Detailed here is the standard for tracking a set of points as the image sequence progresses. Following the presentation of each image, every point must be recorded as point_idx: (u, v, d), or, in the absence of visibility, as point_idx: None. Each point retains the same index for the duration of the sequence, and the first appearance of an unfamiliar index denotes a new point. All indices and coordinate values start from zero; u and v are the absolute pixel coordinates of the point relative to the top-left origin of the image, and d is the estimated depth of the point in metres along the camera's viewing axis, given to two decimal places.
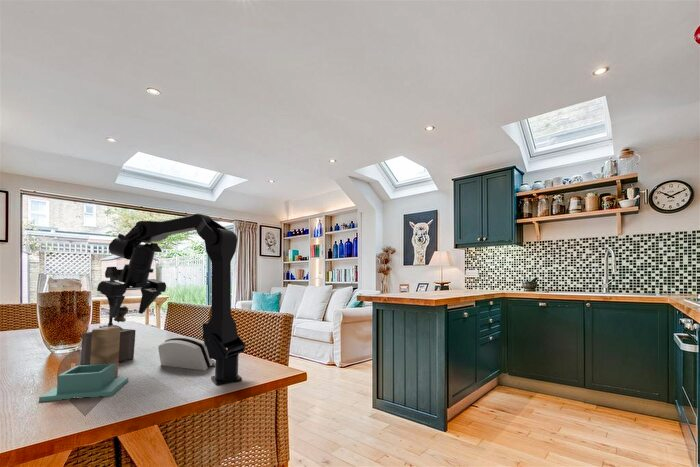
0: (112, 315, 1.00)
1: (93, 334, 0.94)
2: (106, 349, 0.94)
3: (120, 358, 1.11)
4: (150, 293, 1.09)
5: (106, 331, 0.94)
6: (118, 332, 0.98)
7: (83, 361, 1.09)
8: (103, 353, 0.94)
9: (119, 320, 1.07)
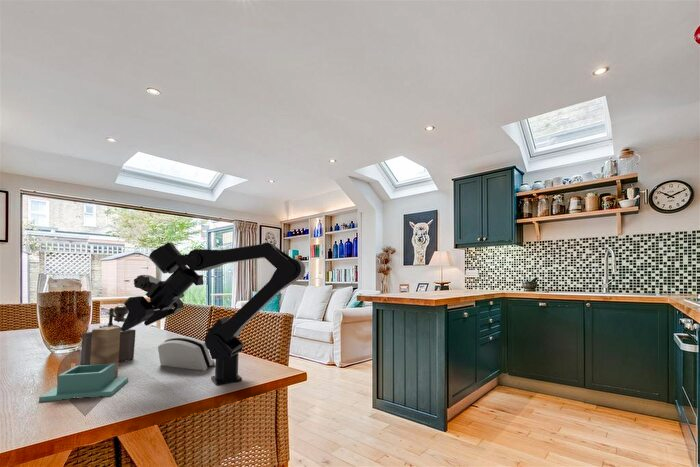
0: (123, 328, 0.91)
1: (93, 334, 0.94)
2: (106, 349, 0.94)
3: (120, 358, 1.11)
4: (165, 310, 1.01)
5: (106, 331, 0.94)
6: (118, 332, 0.98)
7: (83, 361, 1.09)
8: (103, 353, 0.94)
9: (119, 320, 1.07)
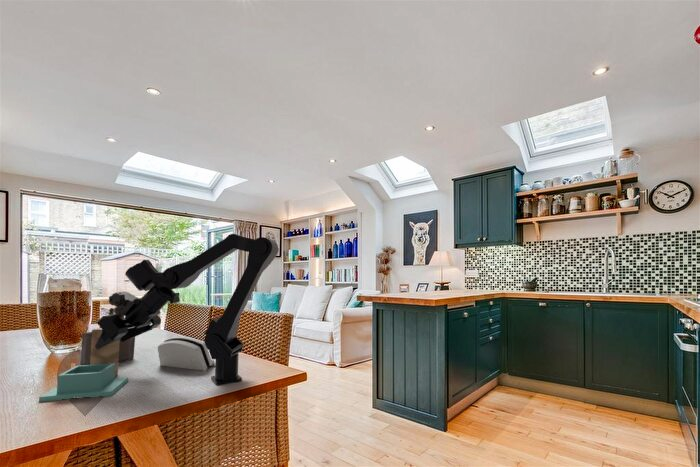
0: (97, 346, 0.91)
1: (93, 334, 0.94)
2: (106, 349, 0.94)
3: (120, 358, 1.11)
4: (142, 327, 1.01)
5: None
6: None
7: (83, 361, 1.09)
8: (103, 353, 0.94)
9: None
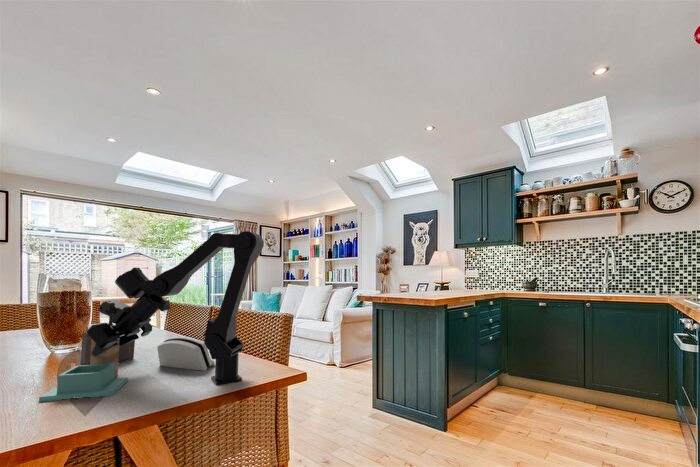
0: (94, 353, 0.93)
1: None
2: None
3: (120, 358, 1.11)
4: (128, 336, 0.99)
5: None
6: None
7: (83, 361, 1.09)
8: (103, 353, 0.94)
9: None
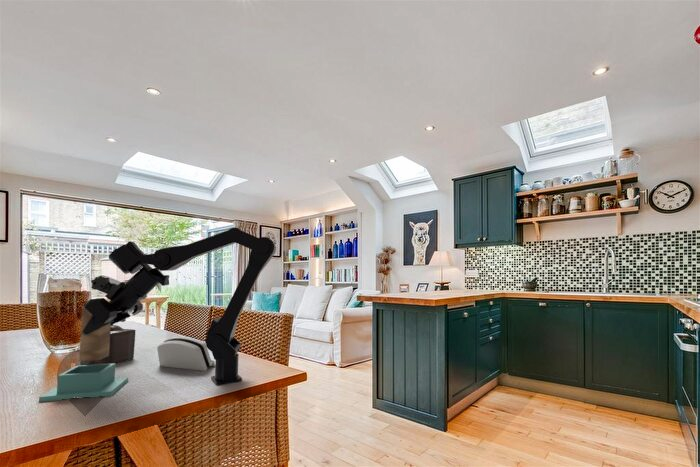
0: (85, 331, 0.88)
1: (83, 311, 0.88)
2: None
3: (120, 358, 1.11)
4: (120, 314, 0.94)
5: None
6: None
7: (83, 361, 1.09)
8: (96, 331, 0.88)
9: None
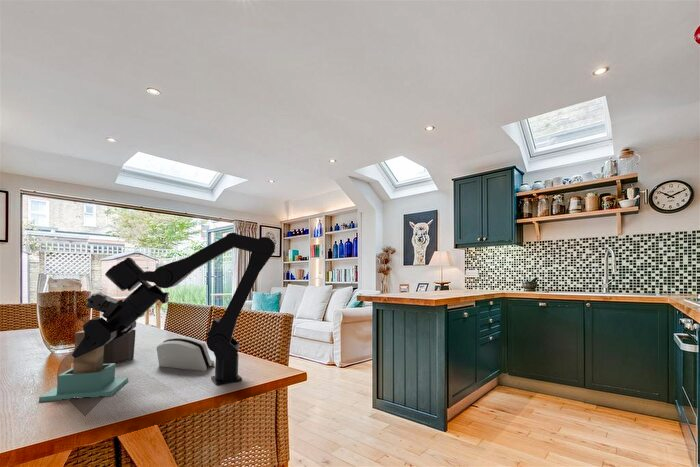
0: (75, 355, 0.81)
1: (76, 338, 0.84)
2: (94, 353, 0.85)
3: (120, 358, 1.11)
4: (117, 331, 0.93)
5: None
6: None
7: None
8: (90, 358, 0.84)
9: None
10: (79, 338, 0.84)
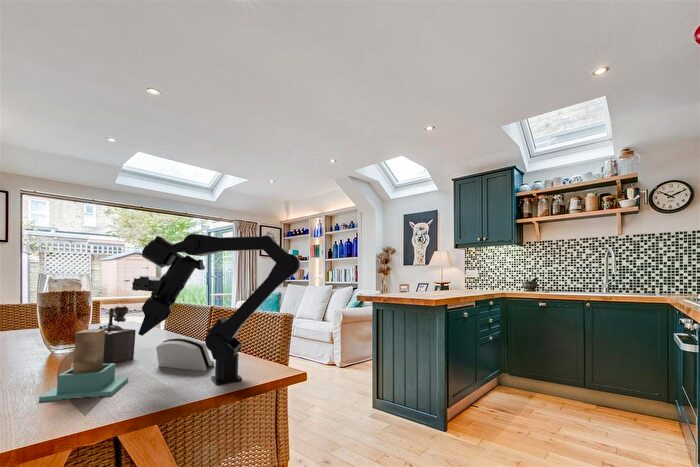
0: (141, 333, 0.89)
1: (77, 338, 0.84)
2: (95, 353, 0.85)
3: (120, 358, 1.11)
4: None
5: (94, 334, 0.85)
6: (103, 334, 0.89)
7: None
8: (90, 358, 0.84)
9: (119, 320, 1.07)
10: (79, 338, 0.84)
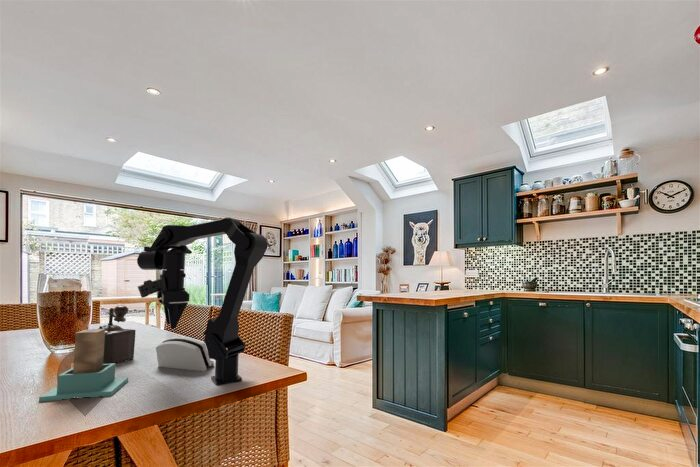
0: (173, 326, 0.96)
1: (77, 338, 0.84)
2: (95, 353, 0.85)
3: (120, 358, 1.11)
4: None
5: (94, 334, 0.85)
6: (103, 334, 0.89)
7: None
8: (90, 358, 0.84)
9: (119, 320, 1.07)
10: (79, 338, 0.84)
